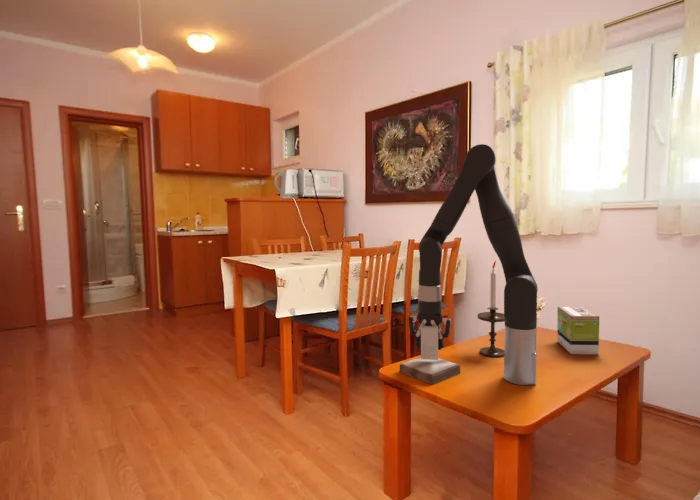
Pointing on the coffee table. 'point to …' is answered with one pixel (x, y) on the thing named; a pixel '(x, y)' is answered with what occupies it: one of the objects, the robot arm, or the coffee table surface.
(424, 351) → the small box
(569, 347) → the tea box
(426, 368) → the tray
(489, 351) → the candlestick
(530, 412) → the coffee table surface
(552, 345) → the coffee table surface
